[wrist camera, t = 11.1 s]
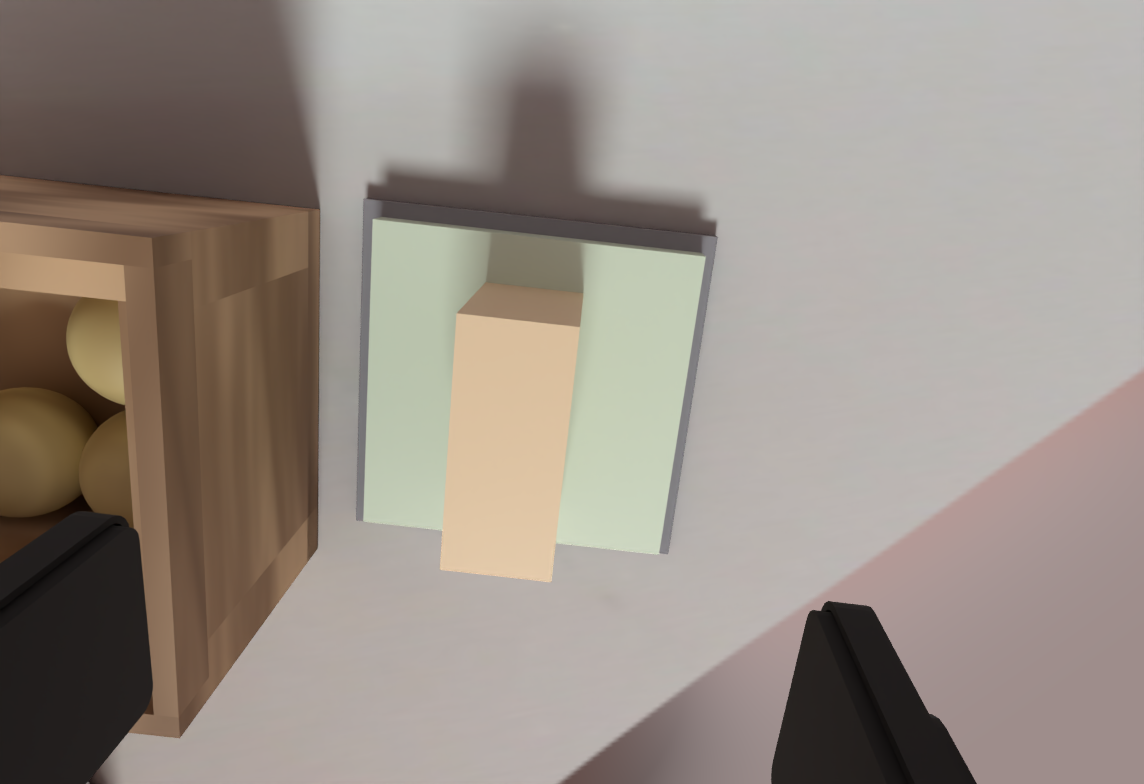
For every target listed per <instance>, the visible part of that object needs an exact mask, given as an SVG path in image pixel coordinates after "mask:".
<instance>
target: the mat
mask: <svg viewBox="0 0 1144 784" xmlns="http://www.w3.org/2000/svg"><path fill="white" fill-rule="evenodd" d="M379 217H387V218H396V219H405V220H414V221H423V222H432V223H441V224H449V225H458V226H467V227H476V228H485V229H494V230H503V231H512V232H520V233H529V234H538V235H547V236H556V237H565V238H574V239H583V240H592V241H600V242H609V243H618V244H627V245H636V246H645V247H654V248H663V249H671V250H680V251H689V252H698V253H702V254H703V255H704V256H706V259H705V265H704V271H703V278H702V284H701V290H700V297H699V303H698V309H697V316H696V322H695V328H694V335H693V341H692V347H691V354H690V360H689V367H688V373H687V379H686V386H685V392H684V398H683V405H682V411H681V417H680V424H679V430H678V436H677V443H676V449H675V455H674V462H673V468H672V474H671V481H670V487H669V494H668V500H667V506H666V513H665V519H664V525H663V532H662V538H661V544H660V551H659V553H662V554H668V552H669V545H670V539H671V532H672V526H673V520H674V513H675V507H676V500H677V494H678V488H679V481H680V475H681V468H682V462H683V456H684V449H685V443H686V436H687V430H688V424H689V417H690V411H691V404H692V398H693V392H694V385H695V379H696V372H697V366H698V360H699V353H700V347H701V340H702V334H703V328H704V321H705V315H706V308H707V302H708V296H709V289H710V283H711V276H712V270H713V264H714V257H715V251H716V244H717V238H718V237H717V236H711V235H702V234H693V233H683V232H674V231H665V230H656V229H646V228H637V227H628V226H619V225H609V224H600V223H591V222H582V221H572V220H563V219H554V218H545V217H535V216H526V215H517V214H507V213H498V212H489V211H480V210H470V209H461V208H452V207H443V206H433V205H424V204H415V203H406V202H396V201H387V200H378V199H369V198H367V199H364V205H363V248H362V291H361V335H360V378H359V421H358V464H357V508H356V520H357V521H363V515H364V482H365V450H366V418H367V386H368V354H369V321H370V289H371V257H372V225H373V219H375V218H379Z"/></svg>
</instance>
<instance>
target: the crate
mask: <svg viewBox="0 0 1144 784" xmlns="http://www.w3.org/2000/svg"><path fill="white" fill-rule="evenodd" d="M319 250H320V209H311V208H301V207H292V206H283V205H273V204H264V203H255V202H246V201H236V200H227V199H218V198H209V197H199V196H190V195H181V194H172V193H162V192H153V191H144V190H135V189H125V188H116V187H107V186H98V185H88V184H79V183H70V182H60V181H51V180H42V179H33V178H23V177H14V176H5V175H0V563H1V562H3V561H4V560H6V559H7V558H9V557H10V556H11V555H13V554H14V553H16V552H17V551H19V550H20V549H22V548H23V547H24V546H26V545H27V544H29V543H30V542H32V541H33V540H35V539H36V538H37V537H39V536H40V535H42V534H43V533H45V532H46V531H48V530H49V529H50V528H52V527H53V526H55V525H56V524H58V523H59V522H61V521H62V520H63V519H65V518H66V517H68V516H69V515H71V514H73V513H75V512H77V511H86V512H94V513H102V514H111V515H119V516H122V517H124V518H125V519H126V520H127V522H128V523H129V527H130V528H134V529H135V530H136V531H137V532H138V534H139V539H140V549H141V560H142V570H143V581H144V592H145V603H146V613H147V624H148V635H149V645H150V656H151V667H152V677H153V692H152V697H151V700H150V703H149V705H148V707H147V709H146V711H145V712H144V714H143V715H142V716H141V718H140V719H139V720H138V721H137V722H136V724H135V725H134V726H133V727H132V728H131V730H130V731H129V732H128V733H137V734H146V735H155V736H165V737H174V738H180V737H181V736H182V734H183V733H184V732H185V730H186V729H187V728H188V726H189V725H190V723H191V722H192V721H193V719H194V718H195V717H196V715H197V714H198V712H199V711H200V710H201V708H202V707H203V706H204V704H205V703H206V701H207V700H208V699H209V697H210V696H211V694H212V693H213V692H214V690H215V689H216V688H217V686H218V685H219V683H220V682H221V681H222V679H223V678H224V677H225V675H226V674H227V672H228V671H229V670H230V668H231V667H232V666H233V664H234V663H235V661H236V660H237V659H238V657H239V656H240V655H241V653H242V652H243V650H244V649H245V648H246V646H247V645H248V643H249V642H250V641H251V639H252V638H253V637H254V635H255V634H256V632H257V631H258V630H259V628H260V627H261V626H262V624H263V623H264V621H265V620H266V619H267V617H268V616H269V615H270V613H271V612H272V610H273V609H274V608H275V606H276V605H277V603H278V602H279V601H280V599H281V598H282V597H283V595H284V594H285V592H286V591H287V590H288V588H289V587H290V586H291V584H292V583H293V581H294V580H295V579H296V577H297V576H298V575H299V573H300V572H301V570H302V569H303V568H304V566H305V565H306V564H307V562H308V561H309V559H310V558H311V557H312V555H313V554H314V552H315V551H316V550H317V538H318V394H319Z"/></svg>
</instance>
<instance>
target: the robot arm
mask: <svg viewBox="0 0 1144 784" xmlns="http://www.w3.org/2000/svg"><path fill="white" fill-rule="evenodd" d="M152 692H153V677H152V667H151V656H150V645H149V635H148V624H147V613H146V603H145V592H144V581H143V570H142V560H141V549H140V539H139V534H138V532H137V531H136V530H135V529H134V528H130V527H129V523H128V522H127V520H126V519H125V518H124V517H122V516H119V515H111V514H102V513H94V512H86V511H77V512H75V513H73V514H71V515H69V516H68V517H66V518H65V519H63V520H62V521H61V522H59V523H58V524H56V525H55V526H53V527H52V528H50V529H49V530H48V531H46V532H45V533H43V534H42V535H40V536H39V537H37V538H36V539H35V540H33V541H32V542H30V543H29V544H27V545H26V546H24V547H23V548H22V549H20V550H19V551H17V552H16V553H14V554H13V555H11V556H10V557H9V558H7V559H6V560H4V561H3V562H1V563H0V784H86V783H87V782H88V781H89V780H90V778H91V777H92V776H93V775H94V774H95V772H96V771H97V770H98V769H99V767H100V766H101V765H102V764H103V763H104V761H105V760H106V759H107V758H108V756H109V755H110V754H111V753H112V752H113V750H114V749H115V748H116V747H117V746H118V744H119V743H120V742H121V741H122V739H123V738H124V737H125V736H126V735H127V733H128V732H129V731H130V730H131V728H132V727H133V726H134V725H135V724H136V722H137V721H138V720H139V719H140V718H141V716H142V715H143V714H144V712H145V711H146V709H147V707H148V705H149V703H150V700H151V697H152ZM771 777H772V778H771V782H772V784H977V783H976V782H975V780H974V778H973V776H972V774H971V773H970V771H969V769H968V767H967V765H966V764H965V762H964V760H963V758H962V756H961V755H960V753H959V751H958V749H957V747H956V745H955V744H954V742H953V740H952V738H951V736H950V735H949V733H948V731H947V729H946V728H945V726H944V725H943V723H942V722H941V721H940V719H939V718H937V717H935V716H934V715H932V714H929V713H928V711H927V709H926V708H925V706H924V704H923V702H922V700H921V698H920V696H919V694H918V693H917V691H916V689H915V687H914V685H913V683H912V681H911V679H910V678H909V676H908V674H907V672H906V670H905V668H904V666H903V665H902V663H901V661H900V659H899V657H898V655H897V653H896V651H895V650H894V648H893V646H892V644H891V642H890V640H889V638H888V636H887V634H886V633H885V631H884V629H883V627H882V625H881V623H880V621H879V620H878V618H877V616H876V614H875V612H874V611H873V609H872V608H871V607H869V606H864V605H856V604H847V603H839V602H831V601H828V602H826V603H825V604H824V606H823V607H822V610H821V611H816V610H812V611H810V613H809V614H808V617H807V621H806V624H805V629H804V633H803V637H802V641H801V646H800V650H799V654H798V658H797V662H796V667H795V671H794V675H793V679H792V683H791V688H790V692H789V697H788V700H787V705H786V709H785V713H784V717H783V722H782V726H781V730H780V734H779V738H778V742H777V747H776V751H775V755H774V759H773V765H772V774H771Z"/></svg>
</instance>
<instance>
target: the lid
mask: <svg viewBox="0 0 1144 784" xmlns="http://www.w3.org/2000/svg"><path fill="white" fill-rule="evenodd" d="M705 259H706V256H704V255H703V254H702V253H698V252H689V251H680V250H671V249H663V248H654V247H645V246H636V245H627V244H618V243H609V242H600V241H592V240H583V239H574V238H565V237H556V236H547V235H538V234H529V233H520V232H512V231H503V230H494V229H485V228H476V227H467V226H458V225H449V224H441V223H432V222H423V221H414V220H405V219H396V218H387V217H379V218H375V219H373V225H372V257H371V289H370V321H369V354H368V386H367V418H366V450H365V482H364V515H363V522H371V523H380V524H389V525H398V526H407V527H416V528H425V529H434V530H442V545H441V561H440V570H447V571H456V572H465V573H474V574H483V575H492V576H501V577H509V578H518V579H527V580H536V581H545V582H551V580H552V571H553V562H554V553H555V544H556V543H558V544H567V545H576V546H585V547H594V548H603V549H612V550H621V551H629V552H638V553H647V554H656V555H659V551H660V544H661V538H662V532H663V525H664V519H665V513H666V506H667V500H668V494H669V487H670V481H671V474H672V468H673V462H674V455H675V449H676V443H677V436H678V430H679V424H680V417H681V411H682V405H683V398H684V392H685V386H686V379H687V373H688V367H689V360H690V354H691V347H692V341H693V335H694V328H695V322H696V316H697V309H698V303H699V297H700V290H701V284H702V278H703V271H704V265H705Z"/></svg>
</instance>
